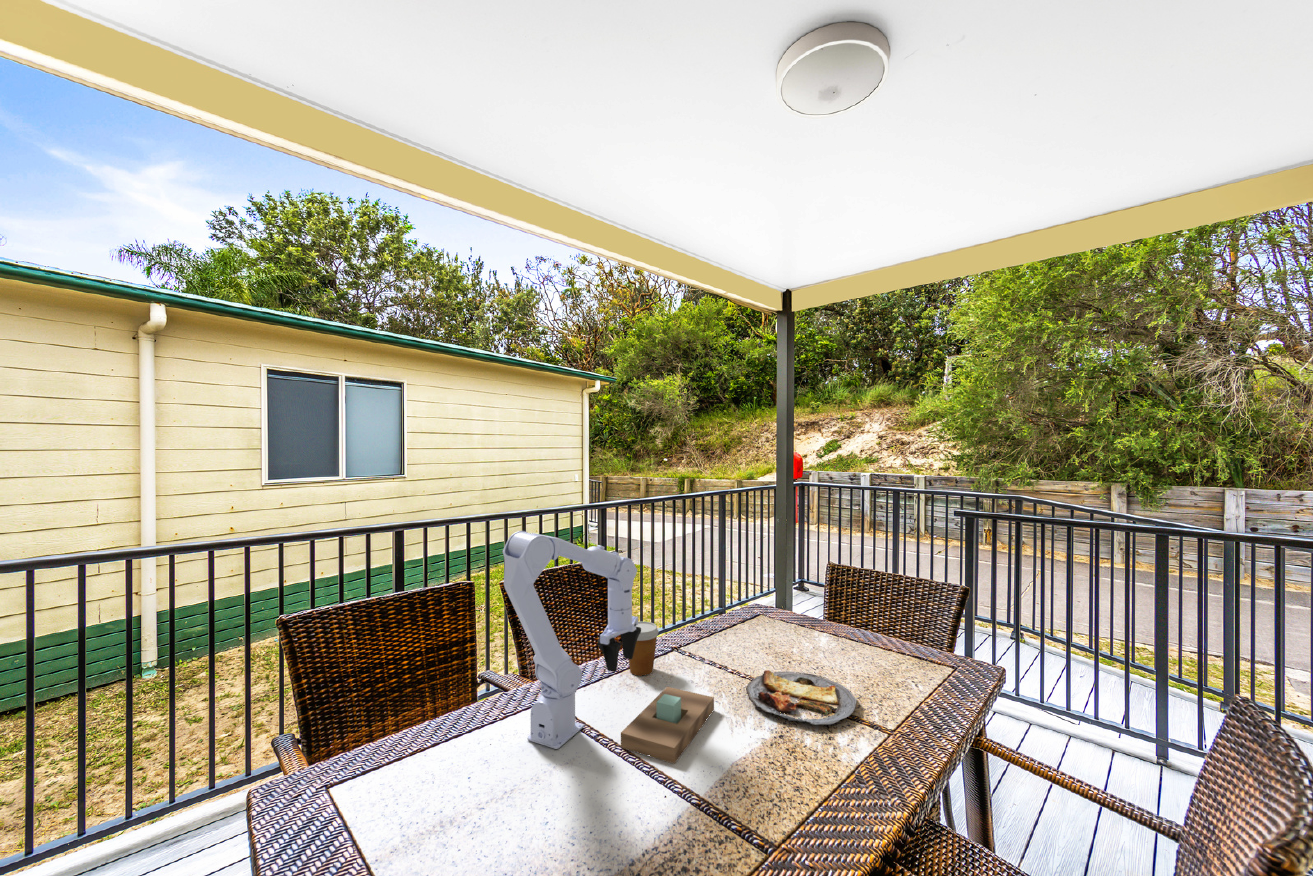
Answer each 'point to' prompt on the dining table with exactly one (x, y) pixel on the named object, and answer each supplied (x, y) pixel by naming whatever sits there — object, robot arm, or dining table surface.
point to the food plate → (800, 696)
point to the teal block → (669, 708)
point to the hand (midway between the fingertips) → (620, 664)
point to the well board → (667, 727)
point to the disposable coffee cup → (644, 650)
